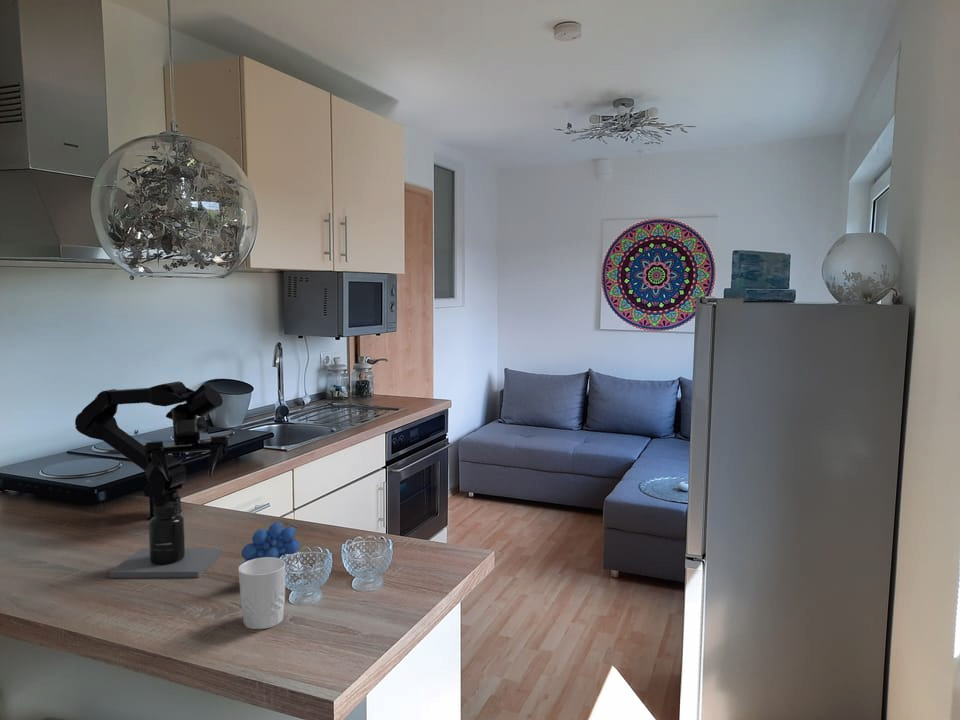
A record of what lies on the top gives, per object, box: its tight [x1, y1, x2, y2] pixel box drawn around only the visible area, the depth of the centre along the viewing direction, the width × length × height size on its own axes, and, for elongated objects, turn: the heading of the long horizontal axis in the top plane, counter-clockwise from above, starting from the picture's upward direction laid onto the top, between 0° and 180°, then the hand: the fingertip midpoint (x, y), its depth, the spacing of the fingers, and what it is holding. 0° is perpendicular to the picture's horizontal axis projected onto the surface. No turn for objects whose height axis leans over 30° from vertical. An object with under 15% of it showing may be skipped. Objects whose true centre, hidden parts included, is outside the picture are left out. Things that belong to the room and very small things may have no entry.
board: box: [109, 547, 224, 579], centre depth 141 cm, size 18×13×1 cm
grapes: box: [241, 521, 301, 564], centre depth 133 cm, size 12×7×12 cm, turn 121°
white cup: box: [237, 557, 287, 630], centre depth 116 cm, size 8×8×10 cm
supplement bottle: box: [148, 502, 186, 565], centre depth 141 cm, size 7×7×12 cm
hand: (189, 478), depth 160 cm, fingers open, 9 cm apart
